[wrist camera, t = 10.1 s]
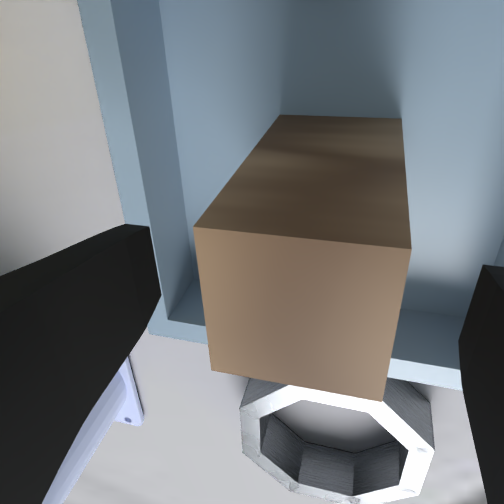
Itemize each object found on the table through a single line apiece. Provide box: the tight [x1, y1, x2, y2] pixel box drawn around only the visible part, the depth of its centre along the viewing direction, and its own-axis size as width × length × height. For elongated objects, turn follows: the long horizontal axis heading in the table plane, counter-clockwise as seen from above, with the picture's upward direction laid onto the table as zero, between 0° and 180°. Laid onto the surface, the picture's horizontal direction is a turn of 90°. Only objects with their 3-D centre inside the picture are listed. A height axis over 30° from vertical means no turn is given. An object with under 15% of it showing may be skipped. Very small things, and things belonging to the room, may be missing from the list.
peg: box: [193, 115, 412, 402], centre depth 12 cm, size 4×4×8 cm
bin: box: [77, 0, 504, 391], centre depth 14 cm, size 14×14×4 cm
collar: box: [239, 377, 435, 504], centre depth 22 cm, size 9×9×2 cm
